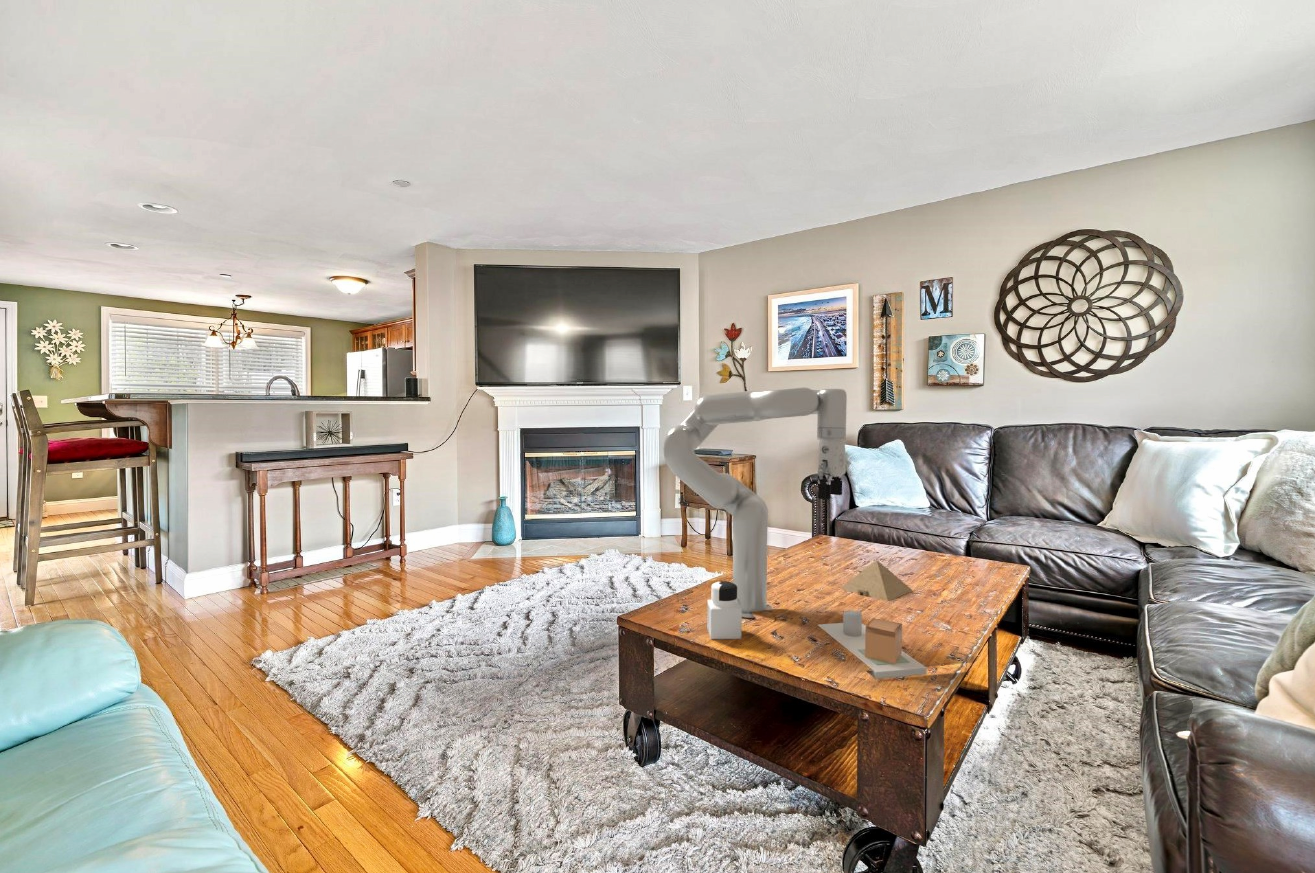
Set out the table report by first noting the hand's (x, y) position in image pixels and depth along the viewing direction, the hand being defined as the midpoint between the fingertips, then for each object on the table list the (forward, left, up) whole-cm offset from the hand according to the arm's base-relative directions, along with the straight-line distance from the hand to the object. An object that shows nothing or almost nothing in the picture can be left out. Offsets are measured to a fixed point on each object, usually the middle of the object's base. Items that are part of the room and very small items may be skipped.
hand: (830, 496), depth 163 cm
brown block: (-1, -30, -32) cm, 44 cm away
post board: (-1, -23, -33) cm, 40 cm away
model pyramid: (+26, +20, -34) cm, 47 cm away
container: (-32, -7, -34) cm, 47 cm away
